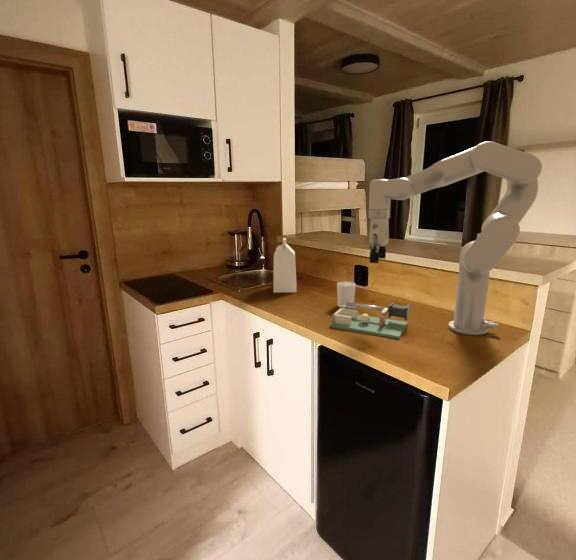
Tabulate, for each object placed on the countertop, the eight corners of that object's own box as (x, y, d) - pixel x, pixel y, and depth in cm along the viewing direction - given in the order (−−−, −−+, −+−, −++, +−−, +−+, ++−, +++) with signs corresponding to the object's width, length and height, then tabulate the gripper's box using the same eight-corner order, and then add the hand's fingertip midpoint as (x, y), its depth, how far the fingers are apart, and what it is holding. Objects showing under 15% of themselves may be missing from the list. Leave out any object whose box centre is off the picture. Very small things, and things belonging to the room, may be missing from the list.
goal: (357, 317, 139) (358, 310, 138) (350, 325, 131) (350, 317, 131) (340, 315, 142) (340, 307, 141) (332, 322, 135) (332, 314, 134)
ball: (370, 322, 134) (371, 313, 133) (368, 325, 131) (368, 316, 130) (361, 320, 136) (361, 311, 135) (358, 323, 133) (358, 314, 132)
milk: (296, 292, 178) (296, 240, 172) (273, 292, 179) (272, 240, 172) (296, 286, 190) (296, 237, 184) (274, 286, 190) (273, 237, 184)
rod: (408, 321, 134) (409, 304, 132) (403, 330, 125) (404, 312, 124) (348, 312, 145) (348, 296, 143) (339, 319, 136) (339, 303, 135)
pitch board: (407, 324, 134) (408, 313, 133) (399, 339, 121) (400, 326, 120) (343, 314, 146) (343, 304, 144) (330, 327, 133) (330, 315, 132)
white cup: (340, 309, 152) (341, 287, 149) (333, 304, 159) (334, 282, 157) (357, 308, 154) (358, 285, 151) (350, 302, 161) (350, 281, 159)
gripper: (383, 216, 122) (381, 265, 126) (395, 212, 136) (393, 257, 141) (362, 215, 125) (360, 264, 130) (375, 212, 140) (374, 256, 144)
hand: (377, 260), depth 135 cm, fingers open, 9 cm apart
